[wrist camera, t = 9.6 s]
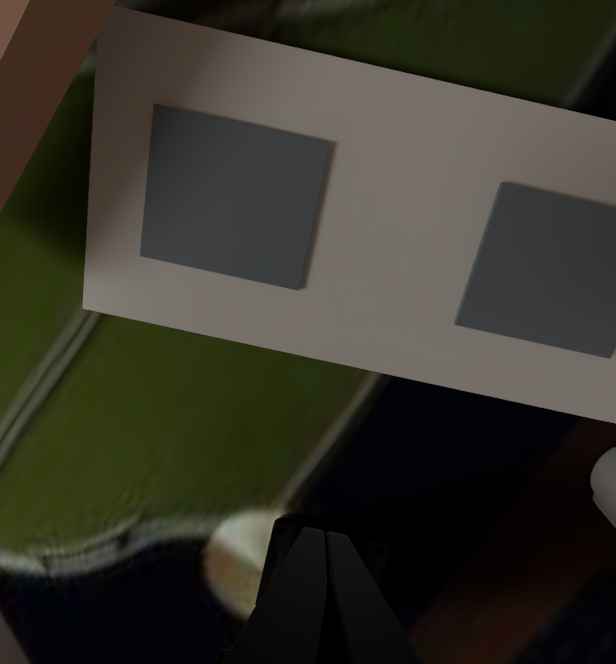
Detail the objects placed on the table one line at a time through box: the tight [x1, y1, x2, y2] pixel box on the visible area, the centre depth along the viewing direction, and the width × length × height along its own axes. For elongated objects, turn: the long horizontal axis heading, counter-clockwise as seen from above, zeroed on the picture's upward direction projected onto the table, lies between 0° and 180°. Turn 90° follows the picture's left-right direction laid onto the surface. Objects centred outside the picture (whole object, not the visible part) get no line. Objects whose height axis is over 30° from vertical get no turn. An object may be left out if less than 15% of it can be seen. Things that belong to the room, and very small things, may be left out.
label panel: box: [83, 6, 616, 423], centre depth 18 cm, size 12×26×1 cm, turn 78°
